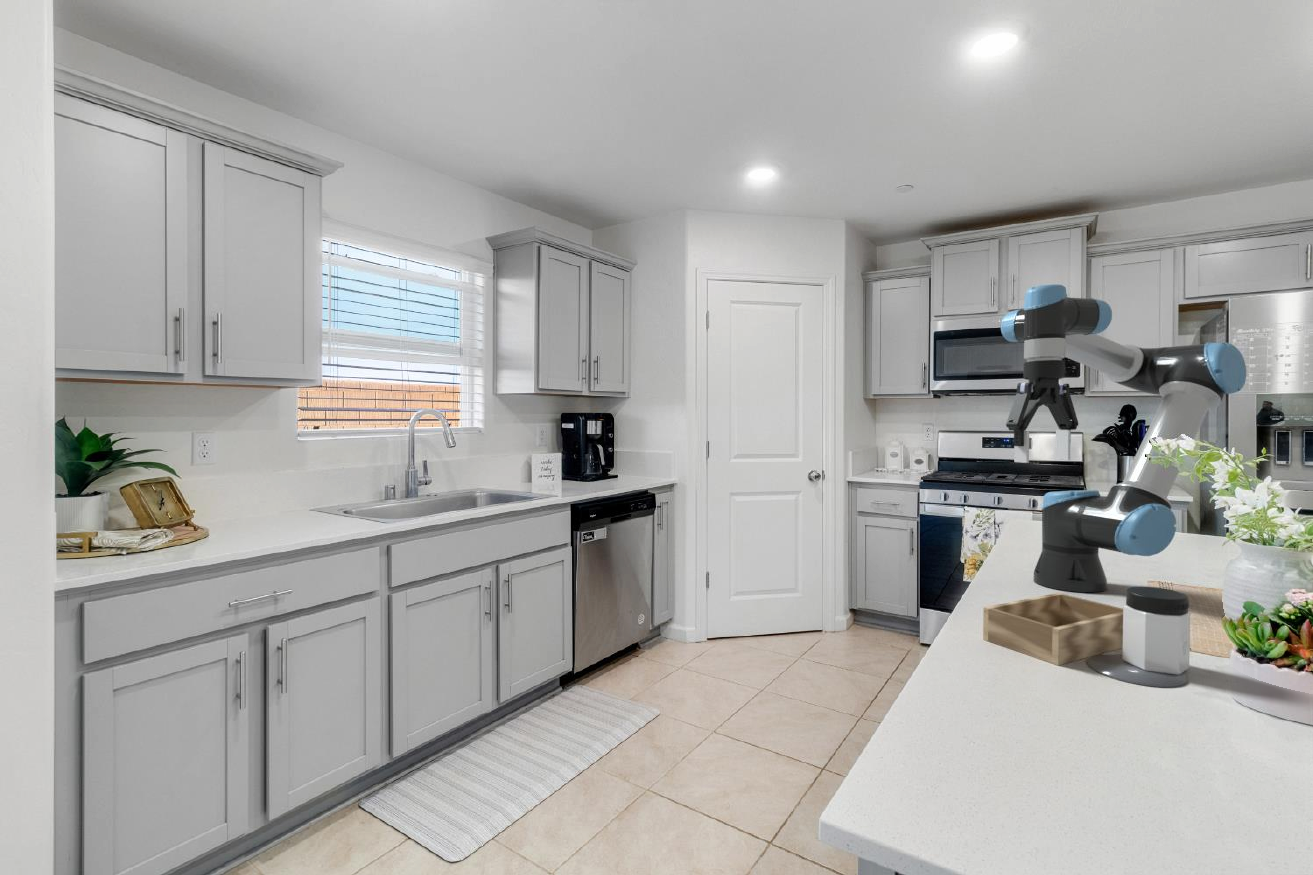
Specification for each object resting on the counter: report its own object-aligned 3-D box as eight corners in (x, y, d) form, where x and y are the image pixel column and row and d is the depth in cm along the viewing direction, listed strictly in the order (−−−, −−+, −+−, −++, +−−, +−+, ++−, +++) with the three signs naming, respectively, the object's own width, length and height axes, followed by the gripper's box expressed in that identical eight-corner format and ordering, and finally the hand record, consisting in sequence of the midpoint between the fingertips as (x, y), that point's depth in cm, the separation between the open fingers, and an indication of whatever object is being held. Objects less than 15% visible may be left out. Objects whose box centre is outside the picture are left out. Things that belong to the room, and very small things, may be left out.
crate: (1058, 622, 131) (1058, 592, 130) (1134, 644, 118) (1135, 611, 118) (983, 639, 121) (983, 607, 121) (1057, 665, 108) (1058, 629, 108)
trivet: (1116, 651, 115) (1116, 649, 115) (1204, 677, 103) (1204, 675, 103) (1070, 663, 109) (1070, 662, 109) (1158, 693, 97) (1158, 691, 97)
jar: (1176, 679, 102) (1177, 603, 101) (1115, 663, 108) (1117, 591, 108) (1195, 666, 107) (1197, 593, 107) (1136, 651, 114) (1138, 583, 113)
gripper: (1063, 363, 146) (1061, 458, 147) (987, 359, 135) (986, 462, 136) (1098, 360, 139) (1096, 460, 140) (1022, 357, 128) (1020, 464, 129)
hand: (1042, 461), depth 138 cm, fingers open, 13 cm apart
